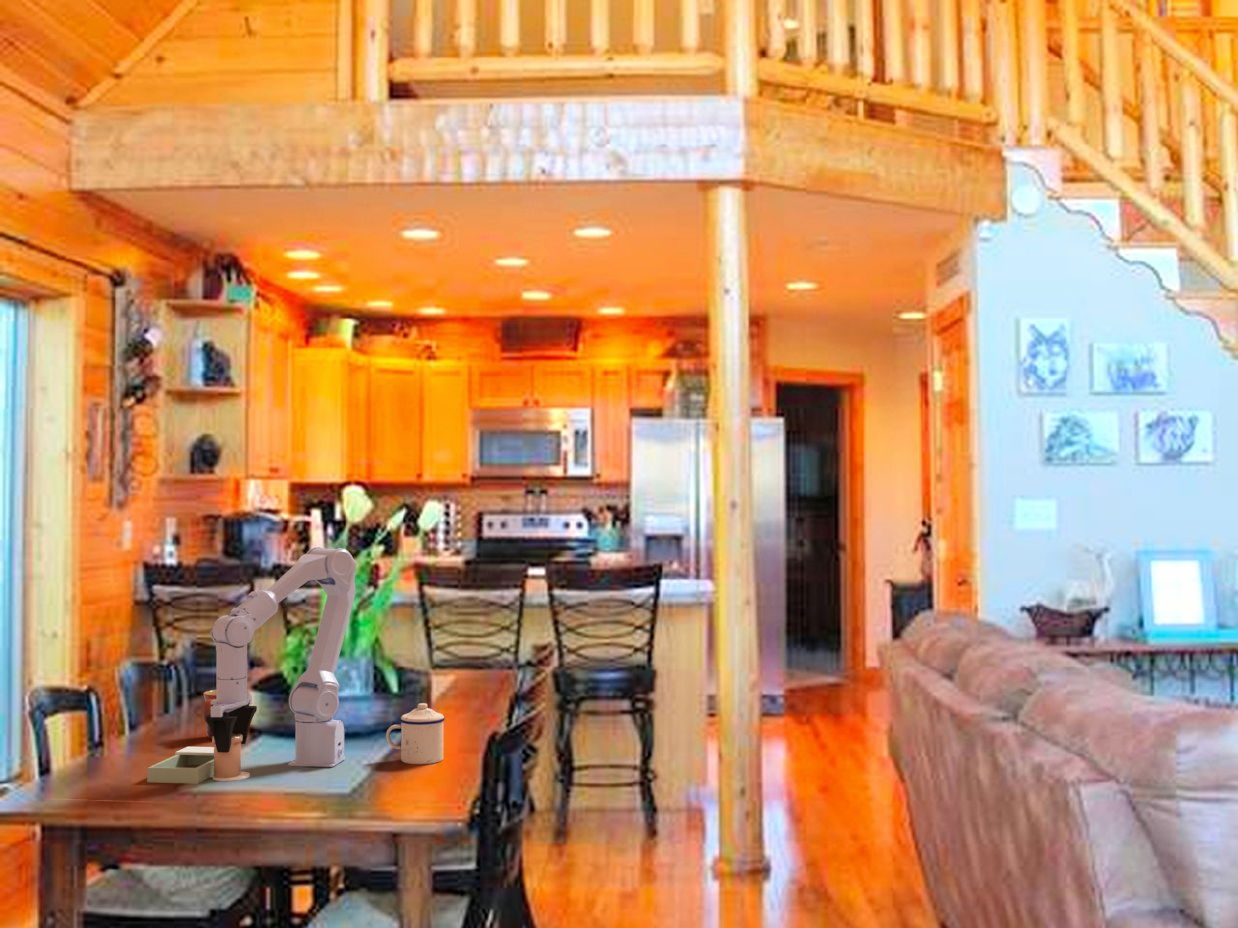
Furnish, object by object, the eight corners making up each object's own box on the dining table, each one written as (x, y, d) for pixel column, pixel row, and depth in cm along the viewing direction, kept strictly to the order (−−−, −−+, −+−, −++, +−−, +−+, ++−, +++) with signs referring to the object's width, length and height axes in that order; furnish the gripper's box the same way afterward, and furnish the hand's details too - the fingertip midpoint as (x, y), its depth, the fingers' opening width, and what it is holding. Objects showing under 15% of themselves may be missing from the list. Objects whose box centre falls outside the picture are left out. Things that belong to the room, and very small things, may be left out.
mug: (215, 733, 285) (216, 688, 285) (250, 734, 283) (250, 689, 284) (187, 743, 273) (188, 696, 274) (223, 745, 272) (224, 698, 272)
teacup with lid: (446, 755, 261) (447, 700, 261) (441, 765, 252) (441, 707, 252) (389, 755, 260) (390, 700, 261) (382, 765, 251) (382, 707, 252)
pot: (246, 772, 242) (247, 733, 242) (234, 778, 236) (235, 739, 237) (219, 771, 243) (219, 733, 243) (206, 778, 237) (207, 738, 237)
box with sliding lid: (237, 765, 251) (237, 747, 252) (198, 785, 234) (199, 766, 234) (187, 763, 253) (187, 746, 253) (145, 783, 235) (145, 765, 235)
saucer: (255, 774, 243) (255, 771, 243) (240, 783, 236) (240, 779, 236) (221, 773, 243) (221, 770, 243) (205, 782, 236) (205, 778, 237)
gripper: (228, 672, 248) (227, 740, 247) (195, 683, 233) (195, 755, 233) (261, 672, 247) (261, 740, 247) (231, 683, 233) (231, 756, 232)
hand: (231, 748), depth 240 cm, fingers open, 7 cm apart
